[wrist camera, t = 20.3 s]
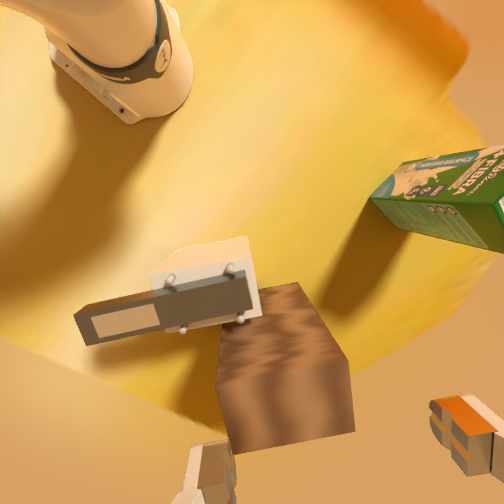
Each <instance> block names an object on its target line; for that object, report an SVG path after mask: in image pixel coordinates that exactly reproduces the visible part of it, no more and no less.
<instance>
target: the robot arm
mask: <svg viewBox="0 0 504 504" xmlns="http://www.w3.org/2000/svg"><path fill="white" fill-rule="evenodd" d="M0 6H3V7H6V8H9V9H12V10H14V11H17V12H20V13H22V14H24V15H27V16H29V17H31V18H33V19H34V20H36V21H38V22H39V23H41V24H42V25H43V26H44V28H45V33H46V37H47V39H48V42H49V51H50V56H51V59H52V60H53V61H54V62H55V63H56V64H57V65H58V66H59V67H60V68H62V69H63V70H64V71H65V72H66V73H67V74H69V75H70V76H71V77H72V78H73V79H74V80H76V81H77V82H78V83H79V84H80V85H82V86H83V87H84V88H85V89H86V90H87V91H89V92H90V93H91V94H92V95H93V96H94V97H96V98H97V99H98V100H99V101H100V102H101V103H103V104H104V105H105V106H106V107H107V108H108V109H110V110H111V111H112V112H113V113H114V114H116V115H117V116H118V117H119V118H120V119H121V120H123V121H124V122H125V123H127V124H135V123H137V122H139V121H141V120H142V119H144V118H148V117H160V116H164V115H167V114H170V113H171V112H173V111H175V110H176V109H177V108H179V107H180V106H181V105H182V103H183V102H184V101H185V99H186V98H187V96H188V94H189V92H190V89H191V86H192V81H193V64H192V59H191V56H190V53H189V50H188V48H187V46H186V44H185V42H184V40H183V37H182V33H181V24H180V19H179V16H178V14H177V12H176V11H175V9H173V8H172V7H169V6H167V4H166V2H165V0H0ZM122 109H124V113H121V110H122ZM429 408H430V409H431V410H432V412H433V413H432V414H431V416H430V426H431V428H432V431H433V433H434V435H435V437H436V438H437V440H438V441H439V442H440V444H441V445H442V446H444V447H446V448H447V449H449V450H451V457H452V459H453V460H454V461H455V462H456V463H457V465H458V466H459V467H460V468H461V470H462V471H463V472H464V474H465V475H466V476H467V477H468V476H474V475H481V474H487V473H491V474H492V475H493V476H494V477H496V478H497V479H499V480H500V481H502V482H503V483H504V421H503V420H501V419H500V418H499V417H498V416H497V415H496V414H495V413H493V412H492V411H491V410H490V409H489V408H488V407H486V406H485V405H484V404H483V403H482V402H481V401H480V400H478V399H477V398H476V397H475V396H474V395H472V394H470V393H466V394H460V395H456V396H449V397H444V398H440V399H435V400H431V401H430V403H429ZM235 486H236V465H235V459H234V454H232V453H231V443H230V439H226V440H220V441H213V442H207V443H202V444H197V445H192V446H191V448H190V452H189V456H188V462H187V466H186V472H185V477H184V482H183V487H182V492H180V493H177V495H176V496H175V498H174V499H173V501H172V502H171V504H236V495H235V491H234V488H235Z"/></svg>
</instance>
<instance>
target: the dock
mask: <svg viewBox="0 0 504 504" xmlns="http://www.w3.org/2000/svg"><path fill="white" fill-rule="evenodd" d="M241 270H245V271H246V276H247V280H248V284H249V288H250V293H251V297H252V303H253V309H252V310H247V311H243V312H238V313H234V314H229V315H225V316H220V317H216V318H211V319H207V320H202V321H198V322H193V323H189V324H184V325H180V326H175V327H171V328H166V329H164V330H165V333H166V334H168V333H174V332H179V333H180V334H181V335H183V334H185V333H186V331H187V330H190V329H195V328H200V327H206V326H211V325H216V324H222V323H227V322H232V321H237V322H238V323H240V324H242V323H243V322H244V319H248V318H253V317H259V316H262V311H261V305H260V300H259V294H258V289H257V284H256V278H255V273H254V268H253V262H252V257H251V252H250V246H249V241H248V236H242V237H236V238H231V239H225V240H220V241H215V242H209V243H204V244H199V245H193V246H188V247H182V248H177V249H176V250H175V251H174V252H172V253H171V254H170V255H169V256H168V257H167V258H166V259H165V260H164V261H163V262H162V263H161V264H160V265H159V266H157V267H156V268H155V269H154V270H153V271H152V272H151V273H150V274H149V279H150V282H151V285H152V289H153V290H155V289H160V288H164V287H169V286H173V285H178V284H182V283H187V282H191V281H196V280H200V279H205V278H209V277H214V276H218V275H223V274H227V273H228V274H232V273H233V272H236V271H241Z"/></svg>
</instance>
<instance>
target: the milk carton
mask: <svg viewBox="0 0 504 504" xmlns="http://www.w3.org/2000/svg"><path fill="white" fill-rule="evenodd" d="M369 198H370V199H371V200H372V202H373V203H374V204H375V205H376V206H377V207H378V208H379V209H380V210H381V211H382V212H383V213H384V214H385V215H386V217H387V218H388V219H389V220H390V221H391V222H392V223H393V224H394V225H395V226H396V227H397V228H398V229H402V230H406V231H410V232H414V233H419V234H423V235H427V236H431V237H435V238H440V239H444V240H448V241H452V242H456V243H460V244H465V245H469V246H473V247H477V248H481V249H486V250H490V251H494V252H498V253H502V254H504V145H501V146H494V147H488V148H483V149H477V150H471V151H465V152H459V153H454V154H448V155H442V156H436V157H430V158H425V159H419V160H413V161H407V162H404V163H403V164H402V165H401V166H400V167H399V168H398V169H397V170H396V171H395V172H394V173H393V174H392V175H391V176H390V177H389V178H388V179H387V180H386V181H385V182H384V183H383V184H382V185H381V186H380V187H379V188H378V189H377V190H376V191H375V192H374V193H373V194H372V195H371V196H370V197H369Z"/></svg>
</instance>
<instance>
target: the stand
mask: <svg viewBox="0 0 504 504" xmlns="http://www.w3.org/2000/svg"><path fill="white" fill-rule="evenodd" d="M258 294H259V300H260V305H261V311H262V316H259V317H253V318H248V319H244V322H243V323H242V324H240V323H238V322H237V321H232V322H227V323H223V326H222V334H221V342H220V351H219V359H218V367H217V375H216V384H215V387H216V391H217V395H218V399H219V403H220V407H221V411H222V414H223V418H224V422H225V426H226V430H227V434H228V438H229V439H230V443H231V450H232V454H234V455H236V454H241V453H246V452H252V451H257V450H262V449H267V448H272V447H278V446H283V445H287V444H293V443H298V442H304V441H309V440H314V439H319V438H325V437H330V436H335V435H340V434H345V433H351V432H355V422H354V412H353V402H352V394H351V384H350V383H351V382H350V372H349V363H348V359H347V358H346V356H345V355H344V353H343V352H342V350H341V349H340V347H339V345H338V344H337V342H336V341H335V339H334V338H333V336H332V335H331V333H330V331H329V330H328V328H327V327H326V325H325V324H324V322H323V321H322V319H321V317H320V316H319V314H318V313H317V311H316V310H315V308H314V307H313V305H312V303H311V302H310V300H309V299H308V297H307V296H306V294H305V293H304V291H303V290H302V288H301V286H300V285H299V283H298V282H296V283H291V284H285V285H280V286H275V287H269V288H264V289H259V290H258Z"/></svg>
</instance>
